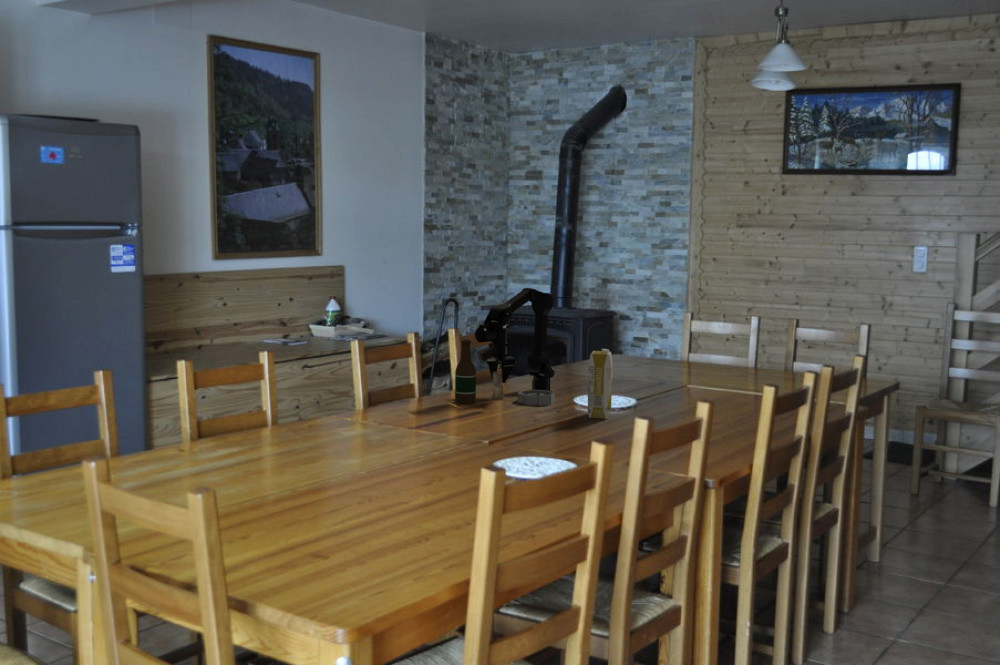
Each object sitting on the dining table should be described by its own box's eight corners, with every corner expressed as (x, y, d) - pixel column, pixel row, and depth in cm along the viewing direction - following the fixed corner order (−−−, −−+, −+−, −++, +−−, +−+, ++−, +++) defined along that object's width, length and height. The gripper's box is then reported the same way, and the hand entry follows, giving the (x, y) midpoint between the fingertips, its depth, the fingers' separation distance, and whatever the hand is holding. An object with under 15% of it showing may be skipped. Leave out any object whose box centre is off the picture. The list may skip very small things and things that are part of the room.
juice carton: (609, 419, 342) (611, 351, 339) (586, 418, 344) (588, 350, 341) (611, 414, 351) (613, 347, 349) (589, 413, 353) (591, 346, 350)
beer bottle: (476, 402, 371) (477, 338, 368) (474, 406, 363) (475, 341, 360) (456, 401, 371) (457, 338, 368) (453, 405, 364) (454, 340, 361)
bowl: (542, 399, 379) (542, 388, 378) (559, 405, 367) (559, 394, 367) (512, 401, 373) (512, 391, 373) (528, 407, 362) (529, 397, 361)
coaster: (503, 396, 382) (503, 395, 382) (513, 400, 374) (513, 399, 374) (482, 398, 378) (482, 396, 378) (492, 402, 370) (492, 401, 370)
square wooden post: (499, 397, 378) (500, 371, 377) (503, 398, 376) (503, 372, 375) (492, 397, 377) (492, 371, 376) (496, 399, 374) (496, 373, 373)
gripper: (469, 338, 378) (468, 378, 380) (490, 344, 362) (490, 386, 364) (495, 337, 383) (494, 376, 385) (517, 343, 367) (516, 384, 369)
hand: (498, 381), depth 376 cm, fingers open, 9 cm apart
